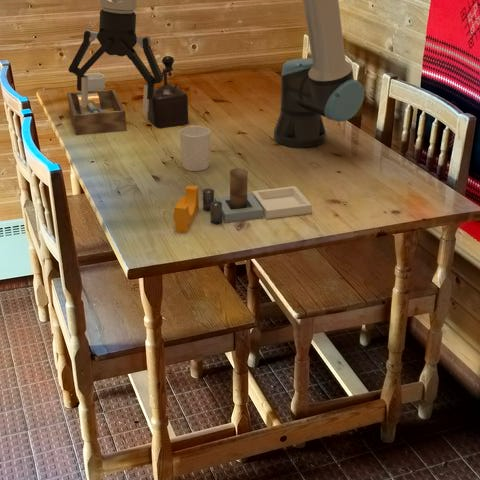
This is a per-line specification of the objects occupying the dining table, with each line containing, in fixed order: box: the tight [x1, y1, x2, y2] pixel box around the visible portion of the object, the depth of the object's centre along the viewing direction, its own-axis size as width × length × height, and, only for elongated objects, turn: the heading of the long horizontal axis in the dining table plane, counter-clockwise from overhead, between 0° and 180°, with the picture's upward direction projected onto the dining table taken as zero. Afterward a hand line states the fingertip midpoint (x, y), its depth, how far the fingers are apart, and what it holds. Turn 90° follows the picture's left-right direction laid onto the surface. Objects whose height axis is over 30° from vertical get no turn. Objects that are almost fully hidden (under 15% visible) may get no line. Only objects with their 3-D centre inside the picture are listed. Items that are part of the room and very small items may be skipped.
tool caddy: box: [66, 88, 128, 136], centre depth 224 cm, size 15×23×6 cm, turn 17°
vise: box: [76, 92, 107, 114], centre depth 224 cm, size 18×10×7 cm, turn 21°
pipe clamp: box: [173, 185, 200, 233], centre depth 164 cm, size 12×4×6 cm, turn 170°
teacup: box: [84, 72, 106, 91], centre depth 252 cm, size 10×8×5 cm
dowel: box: [229, 167, 249, 210], centre depth 166 cm, size 4×4×10 cm
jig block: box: [214, 193, 264, 224], centre depth 168 cm, size 9×9×2 cm
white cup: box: [179, 125, 211, 172], centre depth 191 cm, size 8×8×10 cm
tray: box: [251, 185, 313, 220], centre depth 171 cm, size 11×11×3 cm
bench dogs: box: [202, 188, 223, 225], centre depth 166 cm, size 3×10×5 cm, turn 16°
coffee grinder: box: [146, 55, 190, 129], centre depth 223 cm, size 16×11×18 cm
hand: (114, 109), depth 161 cm, fingers open, 13 cm apart
